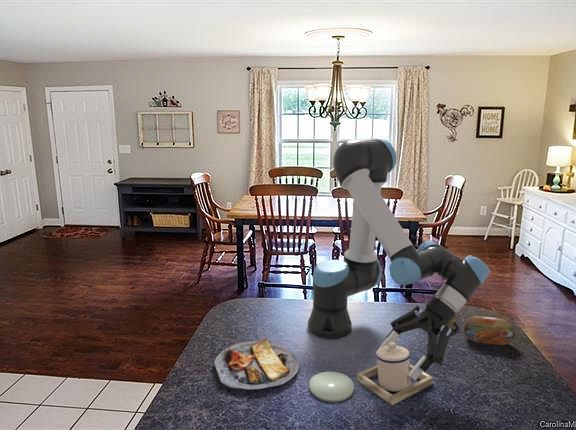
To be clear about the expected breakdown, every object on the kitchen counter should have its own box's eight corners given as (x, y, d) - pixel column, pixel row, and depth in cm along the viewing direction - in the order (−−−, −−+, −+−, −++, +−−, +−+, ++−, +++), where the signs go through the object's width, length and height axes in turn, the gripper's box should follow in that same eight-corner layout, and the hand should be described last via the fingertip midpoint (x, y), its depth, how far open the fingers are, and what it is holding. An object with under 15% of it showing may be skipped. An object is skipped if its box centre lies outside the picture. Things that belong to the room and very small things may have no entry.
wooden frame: (357, 380, 121) (357, 373, 121) (396, 362, 130) (396, 356, 130) (392, 405, 111) (392, 398, 111) (432, 383, 120) (432, 377, 119)
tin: (463, 340, 143) (465, 316, 141) (462, 336, 146) (464, 312, 144) (513, 347, 139) (516, 323, 137) (511, 342, 142) (514, 318, 140)
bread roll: (446, 341, 149) (458, 325, 146) (420, 323, 153) (431, 306, 150) (452, 330, 157) (464, 313, 154) (427, 312, 161) (438, 296, 158)
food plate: (208, 353, 135) (208, 342, 134) (279, 340, 143) (279, 331, 142) (225, 404, 112) (225, 392, 112) (308, 386, 120) (309, 375, 119)
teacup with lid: (416, 390, 114) (414, 348, 113) (382, 394, 114) (379, 352, 113) (402, 369, 126) (400, 331, 125) (371, 373, 126) (369, 334, 125)
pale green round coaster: (300, 384, 120) (300, 381, 119) (334, 370, 126) (334, 366, 126) (328, 407, 110) (328, 404, 110) (363, 391, 117) (363, 387, 116)
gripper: (486, 333, 111) (433, 397, 109) (424, 294, 134) (379, 347, 132) (471, 317, 108) (417, 383, 106) (410, 280, 130) (364, 334, 129)
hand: (395, 363), depth 119 cm, fingers open, 13 cm apart
